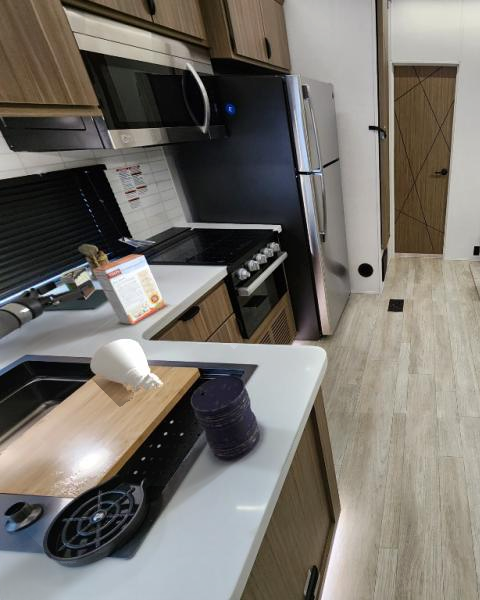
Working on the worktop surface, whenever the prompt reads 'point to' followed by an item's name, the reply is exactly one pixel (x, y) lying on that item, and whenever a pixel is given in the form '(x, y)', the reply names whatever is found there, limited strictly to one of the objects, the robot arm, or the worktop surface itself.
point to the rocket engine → (124, 364)
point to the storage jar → (226, 417)
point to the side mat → (83, 302)
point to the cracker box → (130, 288)
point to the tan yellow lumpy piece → (93, 257)
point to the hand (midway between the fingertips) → (72, 283)
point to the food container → (77, 280)
